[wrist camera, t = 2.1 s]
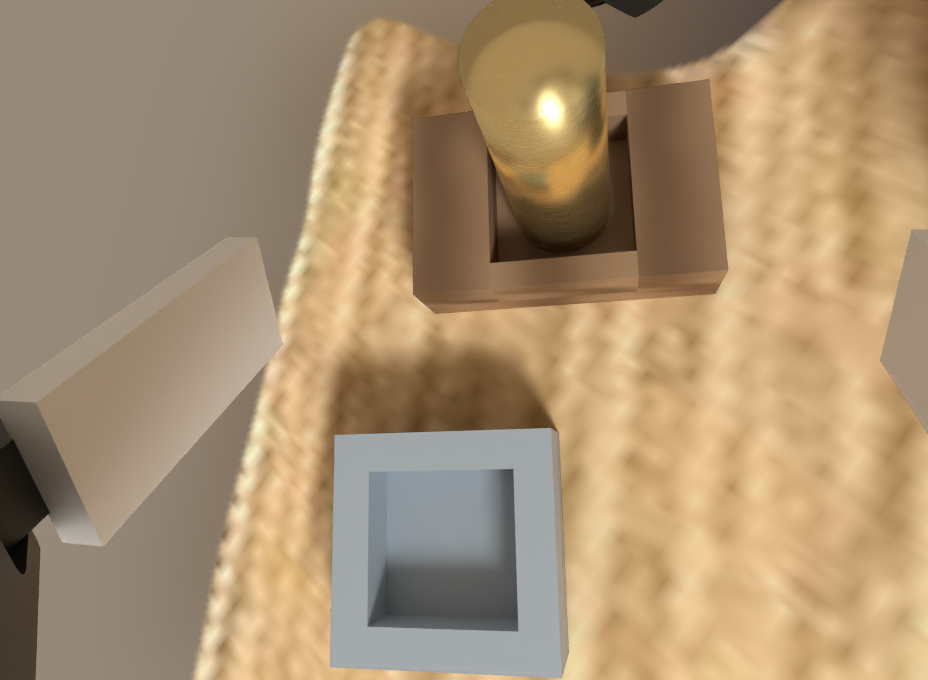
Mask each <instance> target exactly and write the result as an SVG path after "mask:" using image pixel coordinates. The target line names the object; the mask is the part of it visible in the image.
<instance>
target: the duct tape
mask: <svg viewBox="0 0 928 680" xmlns="http://www.w3.org/2000/svg"><path fill="white" fill-rule="evenodd" d="M584 1H585V2H586V3H587V4H588V5H589V6H590V7H591V8H593V7H596V6H600V5H602V4H605V3H607V4H609V5H611V6H612V7H614V8H616V9H618V10H620V11H622V12H624V13H626V14H628V15H630V16H632V17H634V18H636V17H638V16H640V15H642V14H644V13H646V12H647V11H649V10H651V9H652V8H654V7H655V6H657V5H658V4H659V3H661V2H662V1H663V0H584Z"/></svg>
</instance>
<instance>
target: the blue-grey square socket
mask: <svg viewBox="0 0 928 680" xmlns="http://www.w3.org/2000/svg"><path fill="white" fill-rule="evenodd" d="M568 654H569V646H568V624H567V602H566V580H565V557H564V535H563V513H562V491H561V469H560V446H559V433H558V432H556V431H555V430H553V429H552V428H534V429H503V430H472V431H441V432H410V433H379V434H348V435H335V443H334V492H333V540H332V588H331V636H330V667H335V668H356V669H378V670H399V671H421V672H442V673H463V674H485V675H506V676H528V677H549V678H562V676H563V672H564V668H565V665H566V661H567V657H568Z"/></svg>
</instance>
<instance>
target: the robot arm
mask: <svg viewBox="0 0 928 680" xmlns="http://www.w3.org/2000/svg"><path fill="white" fill-rule="evenodd" d="M282 345H283V343H282V339H281V335H280V331H279V327H278V322H277V318H276V314H275V310H274V306H273V302H272V298H271V294H270V289H269V285H268V282H267V277H266V273H265V269H264V265H263V261H262V257H261V252H260V248H259V244H258V240H257V237H240V238H239V237H237V238H236V237H235V238H234V237H233V238H225V239H223V240H222V241H220V242H219V243H218V244H216V245H215V246H213V247H212V248H210V249H209V250H207V251H206V252H205V253H203V254H202V255H200V256H199V257H198V258H196V259H194V260H193V261H192V262H190V263H189V264H187V265H186V266H184V267H183V268H181V269H180V270H179V271H177V272H176V273H174V274H173V275H171V276H170V277H169V278H167V279H166V280H164V281H163V282H161V283H160V284H158V285H157V286H156V287H154V288H153V289H151V290H150V291H148V292H147V293H145V294H144V295H143V296H141V297H140V298H138V299H137V300H135V301H134V302H133V303H131V304H130V305H128V306H127V307H125V308H124V309H122V310H121V311H119V312H118V313H117V314H115V315H114V316H112V317H111V318H109V319H108V320H106V321H105V322H104V323H102V324H101V325H99V326H98V327H96V328H95V329H94V330H92V331H91V332H89V333H88V334H86V335H85V336H83V337H82V338H80V339H79V340H78V341H76V342H75V343H73V344H72V345H70V346H69V347H67V348H66V349H65V350H63V351H62V352H60V353H59V354H57V355H56V356H54V357H53V358H52V359H50V360H49V361H47V362H46V363H44V364H43V365H41V366H40V367H39V368H37V369H36V370H34V371H33V372H31V373H30V374H28V375H27V376H26V377H24V378H23V379H21V380H20V381H18V382H17V383H15V384H14V385H13V386H11V387H10V388H8V389H7V390H5V391H4V392H2V393H1V394H0V680H35V676H36V651H37V624H38V597H39V570H40V547H39V544H38V541H37V539H36V537H35V535H34V533H33V531H32V529H33V528H34V527H35V526H36V525H37V524H38V523H39V522H40V521H41V520H42V519H43V518H45V517H46V516H47V515H48V514H49V516H50V518H51V520H52V522H53V524H54V526H55V528H56V530H57V532H58V534H59V536H60V538H61V540H62V542H64V543H74V544H83V545H93V546H102V547H103V546H104V545H105V544H106V542H108V540H109V539H110V538H111V537H112V536H113V535H114V534H115V533H116V531H117V530H118V529H119V528H120V527H121V526H122V525H123V523H124V522H125V521H126V520H127V519H128V518H129V517H130V516H131V515H132V513H133V512H134V511H135V510H136V509H137V508H138V507H139V506H140V504H141V503H142V502H143V501H144V500H145V499H146V498H147V497H148V495H149V494H150V493H151V492H152V491H153V490H154V489H155V488H156V487H157V485H158V484H159V483H160V482H161V481H162V480H163V479H164V478H165V476H166V475H167V474H168V473H169V472H170V471H171V470H172V469H173V467H174V466H175V465H176V464H177V463H178V462H179V461H180V459H181V458H182V457H183V456H184V455H185V454H186V453H187V452H188V451H189V449H190V448H191V447H192V446H193V445H194V444H195V442H196V441H197V440H198V439H199V438H200V437H201V436H202V435H203V434H204V432H205V431H206V430H207V429H208V428H209V427H210V426H211V424H212V423H213V422H214V421H215V420H216V419H217V418H218V417H219V416H220V414H221V413H222V412H223V411H224V410H225V409H226V408H227V407H228V405H229V404H230V403H231V402H232V401H233V400H234V398H236V397H237V395H238V394H239V393H240V392H241V391H242V390H243V389H244V388H245V386H246V385H247V384H248V383H249V382H250V381H251V380H252V378H253V377H254V376H255V375H256V374H257V373H258V372H259V371H260V370H261V369H262V367H263V366H264V365H265V364H266V363H267V362H268V361H269V360H270V358H271V357H272V356H273V355H274V354H275V353H276V352H277V351H278V349H279V348H280V347H281V346H282ZM880 361H881V363H882V364H883V366H884V367H885V369H886V370H887V372H888V373H889V375H890V376H891V378H892V379H893V381H894V383H895V384H896V386H897V387H898V389H899V390H900V392H901V393H902V395H903V396H904V398H905V399H906V401H907V402H908V404H909V406H910V407H911V409H912V410H913V412H914V413H915V415H916V416H917V418H918V419H919V421H920V422H921V424H922V426H923V427H924V429H925V430H926V432H927V433H928V230H912V231H911V235H910V239H909V243H908V247H907V251H906V256H905V260H904V264H903V268H902V272H901V276H900V280H899V284H898V289H897V293H896V297H895V301H894V305H893V309H892V313H891V317H890V322H889V326H888V330H887V334H886V338H885V342H884V346H883V350H882V355H881V359H880Z"/></svg>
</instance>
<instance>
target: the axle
mask: <svg viewBox="0 0 928 680" xmlns="http://www.w3.org/2000/svg"><path fill="white" fill-rule="evenodd" d="M458 69H459V75H460V79H461V82H462V85H463V87H464V90H465V92H466V95H467V97H468V100H469V102H470V105H471V107H472V110H473V112H474V115H475V117H476V120H477V122H478V125H479V127H480V130H481V132H482V135H483V137H484V140H485V142H486V145H487V147H488V150H489V152H490V155H491V157H492V160H493V162H494V165H495V167H496V170H497V172H498V175H499V177H500V180H501V182H502V185H503V187H504V190H505V192H506V195H507V197H508V200H509V202H510V205H511V207H512V210H513V212H514V215H515V217H516V220H517V222H518V225H519V227H520V229H521V231H522V233H523V235H524V236H525V237H526V238H527V240H528V241H529V242H531V243H532V244H533V245H534V246H536V247H537V248H539V249H542V250H544V251H547V252H551V253H570V252H574V251H577V250H580V249H582V248H584V247H586V246H588V245H589V244H591V243H592V242H593V241H594V240H595V239H596V238H597V237H598V236H599V235H600V234H601V232H602V231H603V229H604V228H605V226H606V224H607V221H608V218H609V213H610V193H609V159H608V125H607V91H606V60H605V36H604V31H603V28H602V25H601V22H600V20H599V18H598V16H597V15H596V13H595V12H594V10H593V9H592V8H591V7H590V6H589V5H588V4H587V3H586V2H585V1H584V0H495V1H493V2H492V3H490V4H489V5H487V6H486V7H485V8H484V9H483V10H482V11H481V12H480V13H479V14H478V15H477V16H476V17H475V18H474V20H473V21H472V22H471V24H470V25H469V27H468V28H467V30H466V32H465V34H464V36H463V39H462V41H461V45H460V48H459V55H458Z"/></svg>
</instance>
